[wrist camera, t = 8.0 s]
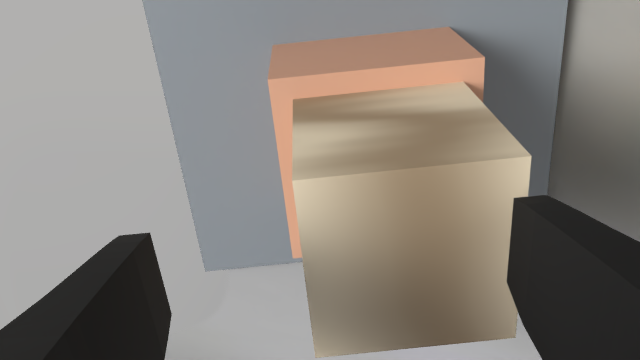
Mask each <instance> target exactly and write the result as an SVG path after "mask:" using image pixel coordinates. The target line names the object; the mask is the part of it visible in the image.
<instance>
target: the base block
mask: <svg viewBox="0 0 640 360" xmlns="http://www.w3.org/2000/svg"><path fill="white" fill-rule="evenodd" d="M484 68H485V57H484V56H483V55H482V54H481V53H479V52H478V51H477V50H476V49H475V48H473V47H472V46H471V45H470V44H469V43H468V42H466V41H465V40H464V39H463V38H462V37H460V36H459V35H458V34H457V33H456V32H454V31H453V30H452V29H451V28H450V27H441V28H432V29H422V30H412V31H403V32H393V33H384V34H374V35H364V36H355V37H345V38H335V39H326V40H316V41H307V42H297V43H287V44H278V45H273V46H272V53H271V60H270V66H269V73H268V86H269V93H270V100H271V107H272V115H273V122H274V129H275V136H276V143H277V150H278V157H279V164H280V171H281V178H282V185H283V192H284V200H285V207H286V214H287V221H288V228H289V235H290V242H291V249H292V256H293V258H302V252H301V244H300V237H299V229H298V221H297V214H296V206H295V199H294V191H293V184H292V131H293V99H300V98H310V97H319V96H329V95H339V94H348V93H358V92H368V91H377V90H387V89H397V88H406V87H416V86H426V85H435V84H445V83H454V82H464V83H465V84H466V85H467V86H468V87H469V88H470V89H471V90H472V91H473V93H474V94H475V95H476V96H477V97H478V98H479V99H480V100H481V101H482V102H483V91H484Z"/></svg>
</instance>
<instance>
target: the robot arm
mask: <svg viewBox="0 0 640 360" xmlns="http://www.w3.org/2000/svg"><path fill="white" fill-rule="evenodd" d="M507 284H508V287H509V290H510V292H511V295H512V298H513V300H514V303H515V306H516V308H517V311H518V313H519V315H520V318H521V320H522V323H523V325H524V327H525V329H526V331H527V332H528V334H529V336H530V338H531V340H532V342H533V343H534V345H535V347H536V349H537V351H538V352H539V354H540V356H541V358H542V360H640V242H638V241H636V240H634V239H632V238H630V237H628V236H626V235H624V234H622V233H620V232H618V231H616V230H614V229H612V228H611V227H609V226H607V225H605V224H603V223H601V222H599V221H597V220H595V219H593V218H591V217H589V216H588V215H586V214H584V213H582V212H580V211H578V210H576V209H574V208H572V207H570V206H568V205H566V204H564V203H562V202H560V201H558V200H556V199H553V198H551V197H549V196H546V195H539V196H529V197H518V198H514V201H513V212H512V224H511V236H510V247H509V259H508V270H507ZM170 321H171V310H170V306H169V302H168V299H167V295H166V291H165V287H164V284H163V280H162V276H161V272H160V269H159V265H158V261H157V257H156V254H155V250H154V246H153V243H152V239H151V235H150V233H142V234H132V235H123V236H118V237H117V238H115V239H114V240H112V241H111V242H110V243H109V244H107V245H106V246H105V247H104V248H102V249H101V250H100V251H98V252H97V253H96V254H95V255H94V256H93V257H91V258H90V259H89V260H88V261H86V262H85V263H84V264H83V265H82V266H80V267H79V268H78V269H77V270H76V271H75V272H73V273H72V274H71V275H70V276H68V277H67V278H66V279H65V280H64V281H63V282H62V283H60V284H59V285H58V286H56V287H55V288H54V289H53V290H52V291H50V292H49V293H48V294H47V295H45V296H44V297H43V298H42V299H41V300H39V301H38V302H36V303H35V304H34V305H32V306H31V307H30V308H29V309H27V310H26V311H25V312H23V313H22V314H21V315H19V316H18V317H17V318H16V319H14V320H13V321H12V322H10V323H9V324H8V325H6V326H5V327H4V328H2V329H1V330H0V360H164V358H165V353H166V347H167V341H168V335H169V328H170Z"/></svg>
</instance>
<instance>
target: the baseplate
mask: <svg viewBox="0 0 640 360" xmlns="http://www.w3.org/2000/svg"><path fill="white" fill-rule="evenodd" d="M142 1H143V5H144V9H145V14H146V18H147V22H148V27H149V31H150V35H151V40H152V44H153V48H154V52H155V57H156V61H157V65H158V70H159V74H160V78H161V82H162V87H163V91H164V96H165V100H166V104H167V108H168V113H169V117H170V121H171V126H172V130H173V134H174V139H175V143H176V147H177V152H178V156H179V160H180V164H181V169H182V173H183V177H184V182H185V186H186V190H187V195H188V199H189V203H190V207H191V212H192V216H193V220H194V225H195V229H196V233H197V238H198V241H199V246H200V250H201V254H202V258H203V263H204V268H205V271H215V270H225V269H235V268H245V267H254V266H264V265H274V264H284V263H294V262H303V259H302V258H293V256H292V249H291V242H290V235H289V228H288V221H287V214H286V207H285V200H284V192H283V185H282V178H281V171H280V164H279V157H278V150H277V143H276V136H275V129H274V122H273V115H272V107H271V100H270V93H269V86H268V73H269V66H270V60H271V53H272V46H273V45H278V44H287V43H297V42H307V41H316V40H326V39H335V38H345V37H355V36H364V35H374V34H384V33H393V32H403V31H412V30H422V29H432V28H441V27H450V28H451V29H452V30H453V31H454V32H456V33H457V34H458V35H459V36H460V37H462V38H463V39H464V40H465V41H466V42H468V43H469V44H470V45H471V46H472V47H473V48H475V49H476V50H477V51H478V52H479V53H481V54H482V55H483V56H484V57H485V68H484V91H483V104H484V105H485V106H486V107H487V108H488V109H489V110H490V111H491V112H492V113H493V114H494V116H495V117H496V118H497V119H498V120H499V121H500V122H501V123H502V124H503V125H504V126H505V128H506V129H507V130H508V131H509V132H510V133H511V134H512V135H513V136H514V137H515V138H516V140H517V141H518V142H519V143H520V144H521V145H522V146H523V147H524V148H525V149H526V151H527V152H528V153H529V154H530V155H531V156H532V157H531V168H530V179H529V190H528V197H529V196H539V195H546V196H547V191H548V182H549V173H550V163H551V154H552V145H553V136H554V126H555V117H556V108H557V99H558V89H559V80H560V71H561V62H562V52H563V43H564V34H565V25H566V15H567V6H568V0H142Z"/></svg>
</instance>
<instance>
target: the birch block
mask: <svg viewBox="0 0 640 360" xmlns="http://www.w3.org/2000/svg"><path fill="white" fill-rule="evenodd" d="M531 157H532V156H531V155H530V154H529V153H528V152H527V151H526V149H525V148H524V147H523V146H522V145H521V144H520V143H519V142H518V141H517V140H516V138H515V137H514V136H513V135H512V134H511V133H510V132H509V131H508V130H507V129H506V128H505V126H504V125H503V124H502V123H501V122H500V121H499V120H498V119H497V118H496V117H495V116H494V114H493V113H492V112H491V111H490V110H489V109H488V108H487V107H486V106H485V105H484V104H483V102H482V101H481V100H480V99H479V98H478V97H477V96H476V95H475V94H474V93H473V91H472V90H471V89H470V88H469V87H468V86H467V85H466V84H465V83H464V82H454V83H445V84H435V85H426V86H416V87H406V88H397V89H387V90H377V91H368V92H358V93H348V94H339V95H329V96H319V97H310V98H300V99H293V131H292V184H293V191H294V199H295V206H296V214H297V221H298V229H299V237H300V244H301V252H302V259H303V267H304V274H305V282H306V290H307V297H308V305H309V312H310V320H311V327H312V335H313V343H314V350H315V358H319V357H329V356H339V355H349V354H359V353H369V352H378V351H388V350H398V349H408V348H418V347H428V346H438V345H448V344H458V343H468V342H478V341H488V340H498V339H507V338H515V336H516V325H517V313H518V311H517V308H516V306H515V303H514V300H513V298H512V295H511V292H510V290H509V287H508V284H507V270H508V259H509V247H510V236H511V224H512V212H513V201H514V198H518V197H528V190H529V179H530V168H531Z"/></svg>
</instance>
